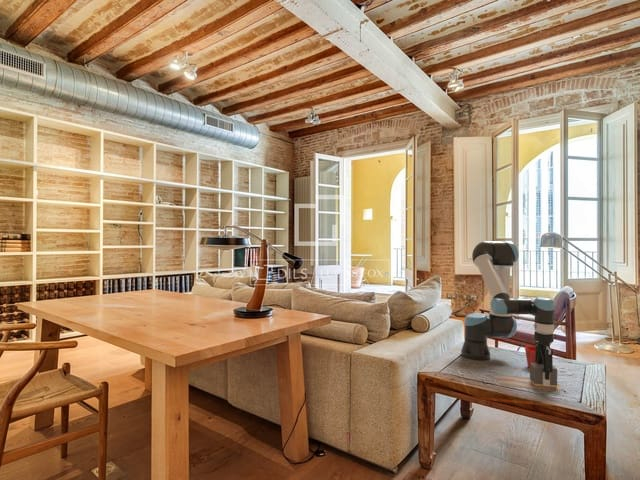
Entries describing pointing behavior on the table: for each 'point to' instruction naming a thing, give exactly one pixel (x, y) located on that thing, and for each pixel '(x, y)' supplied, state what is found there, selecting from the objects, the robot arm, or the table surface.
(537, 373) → the sanding block
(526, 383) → the plank
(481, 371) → the table surface
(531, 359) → the flower pot
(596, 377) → the table surface
